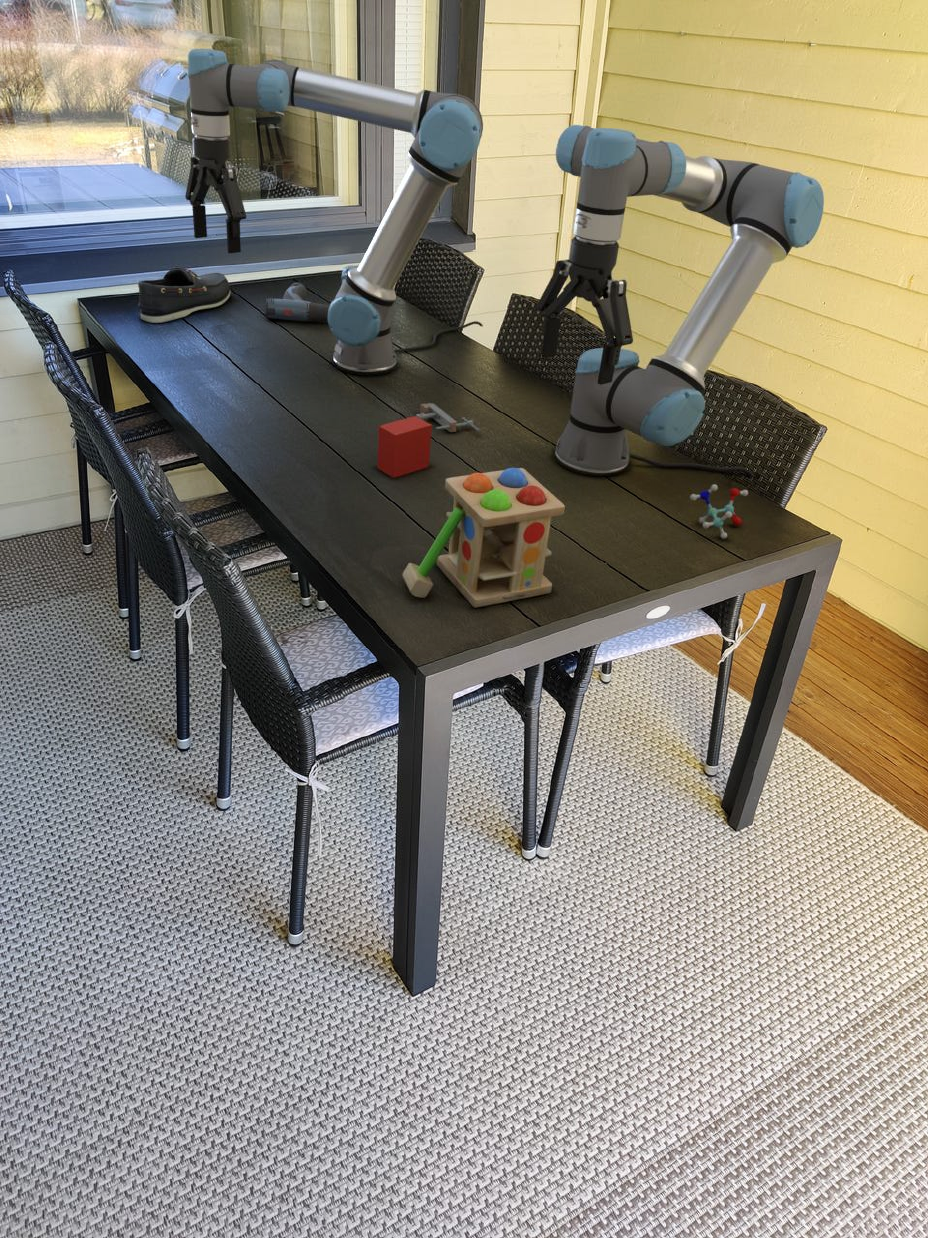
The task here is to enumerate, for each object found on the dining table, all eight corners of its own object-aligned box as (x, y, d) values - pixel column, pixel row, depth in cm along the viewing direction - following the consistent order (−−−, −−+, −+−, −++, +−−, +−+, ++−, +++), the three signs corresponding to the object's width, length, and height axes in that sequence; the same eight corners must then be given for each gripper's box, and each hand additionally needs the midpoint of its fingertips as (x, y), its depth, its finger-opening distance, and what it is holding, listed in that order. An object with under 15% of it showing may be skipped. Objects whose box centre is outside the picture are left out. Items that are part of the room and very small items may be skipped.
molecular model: (753, 532, 175) (738, 478, 173) (701, 547, 178) (685, 494, 177) (757, 522, 185) (742, 472, 184) (707, 537, 189) (692, 487, 187)
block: (377, 468, 192) (378, 425, 187) (412, 457, 197) (415, 415, 192) (393, 478, 189) (395, 435, 184) (429, 466, 194) (431, 424, 189)
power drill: (344, 304, 276) (335, 327, 259) (277, 298, 275) (264, 321, 258) (344, 285, 273) (335, 306, 256) (277, 279, 272) (264, 300, 255)
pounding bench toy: (424, 619, 150) (431, 515, 140) (388, 572, 160) (393, 472, 150) (553, 592, 159) (568, 494, 149) (511, 550, 169) (523, 455, 159)
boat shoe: (248, 301, 272) (246, 262, 267) (158, 325, 248) (153, 283, 243) (214, 293, 278) (211, 255, 272) (123, 315, 254) (117, 274, 248)
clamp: (408, 405, 213) (448, 399, 218) (407, 414, 215) (447, 409, 219) (441, 432, 203) (482, 426, 207) (440, 442, 204) (481, 435, 209)
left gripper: (163, 126, 205) (172, 232, 217) (228, 148, 191) (233, 260, 202) (195, 125, 209) (202, 229, 221) (261, 146, 195) (264, 256, 207)
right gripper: (525, 221, 159) (510, 349, 171) (638, 261, 144) (613, 398, 156) (558, 218, 164) (542, 343, 176) (671, 256, 148) (645, 390, 160)
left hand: (217, 244), depth 212 cm, fingers open, 13 cm apart
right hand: (575, 369), depth 166 cm, fingers open, 13 cm apart
